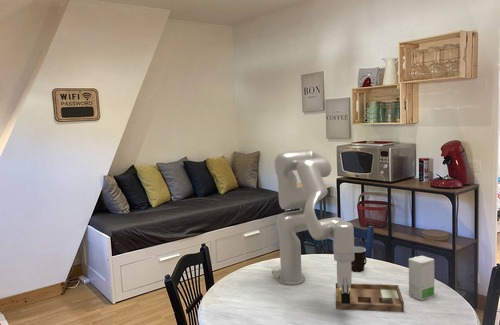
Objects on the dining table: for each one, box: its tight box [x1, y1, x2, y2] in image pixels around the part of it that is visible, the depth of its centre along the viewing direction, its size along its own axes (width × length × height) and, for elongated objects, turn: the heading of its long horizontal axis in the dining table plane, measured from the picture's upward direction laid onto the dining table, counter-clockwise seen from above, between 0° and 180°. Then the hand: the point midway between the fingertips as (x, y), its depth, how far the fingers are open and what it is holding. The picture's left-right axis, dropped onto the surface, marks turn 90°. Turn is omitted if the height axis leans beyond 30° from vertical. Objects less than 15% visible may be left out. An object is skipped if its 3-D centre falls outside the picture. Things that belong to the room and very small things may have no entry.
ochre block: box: [339, 288, 351, 302], centre depth 166 cm, size 4×4×4 cm
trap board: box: [335, 282, 405, 313], centre depth 168 cm, size 25×15×4 cm, turn 78°
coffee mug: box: [351, 246, 367, 273], centre depth 200 cm, size 12×9×10 cm
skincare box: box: [408, 255, 435, 301], centre depth 170 cm, size 8×7×16 cm
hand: (345, 302), depth 158 cm, fingers closed
